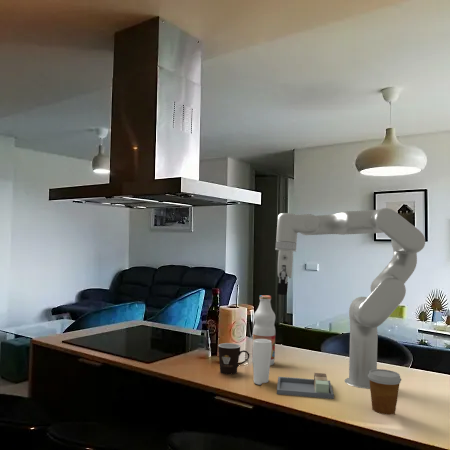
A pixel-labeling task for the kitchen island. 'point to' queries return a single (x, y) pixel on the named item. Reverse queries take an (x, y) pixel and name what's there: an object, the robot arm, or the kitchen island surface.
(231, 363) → the coffee mug
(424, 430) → the kitchen island surface
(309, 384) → the tray
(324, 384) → the sage painted block
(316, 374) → the walnut block
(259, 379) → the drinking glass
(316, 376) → the beech block
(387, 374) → the disposable coffee cup
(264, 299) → the fruit juice
